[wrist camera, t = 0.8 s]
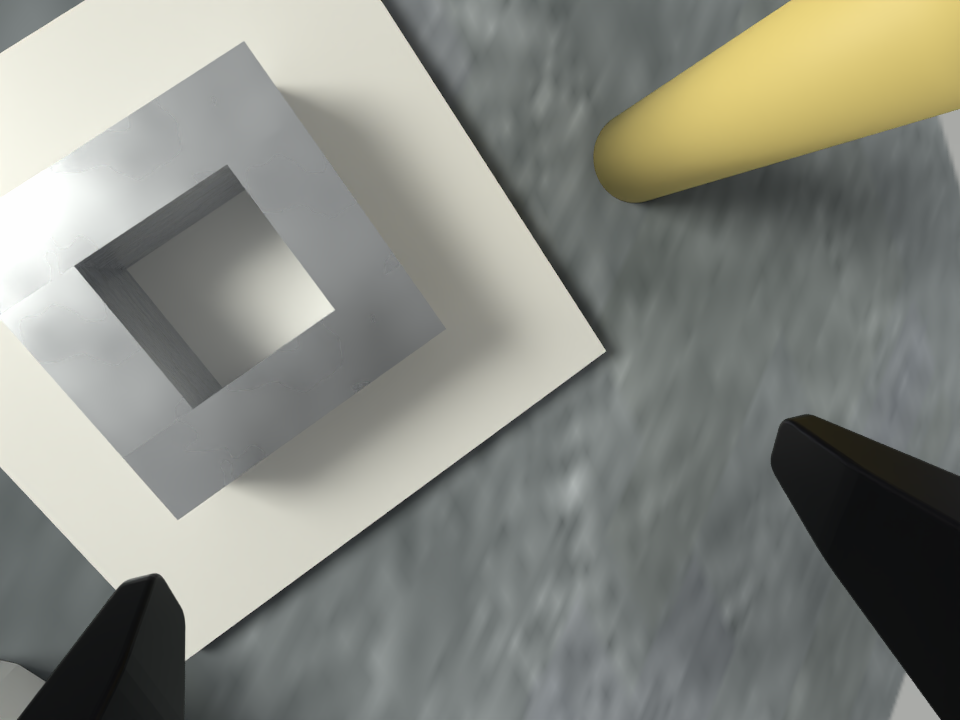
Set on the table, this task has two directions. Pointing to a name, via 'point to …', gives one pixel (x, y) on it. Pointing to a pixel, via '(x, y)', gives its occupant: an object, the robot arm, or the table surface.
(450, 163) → the base plate
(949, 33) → the pin
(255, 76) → the metal collar
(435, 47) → the table surface
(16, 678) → the white short cylinder
